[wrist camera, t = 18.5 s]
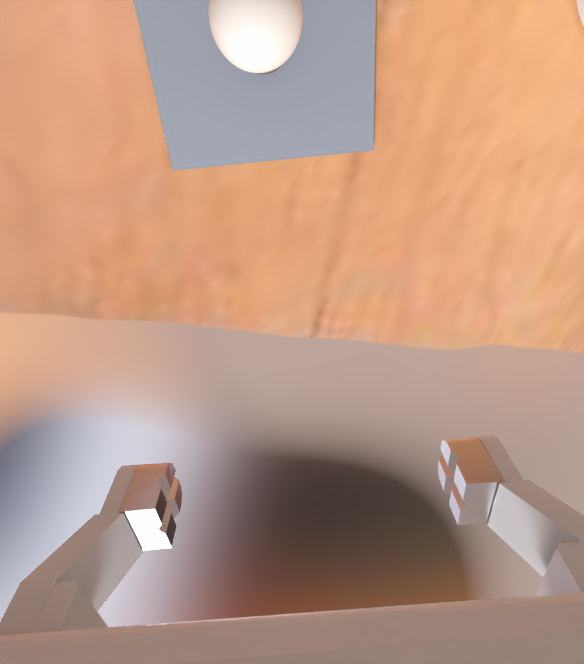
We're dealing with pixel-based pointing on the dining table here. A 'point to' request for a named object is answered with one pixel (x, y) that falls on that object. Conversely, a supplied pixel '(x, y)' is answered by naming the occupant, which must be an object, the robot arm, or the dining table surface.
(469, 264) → the dining table surface
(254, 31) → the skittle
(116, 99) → the dining table surface
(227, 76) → the mat
